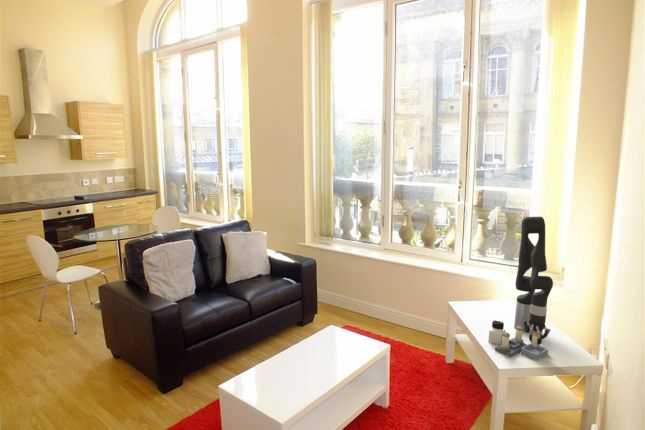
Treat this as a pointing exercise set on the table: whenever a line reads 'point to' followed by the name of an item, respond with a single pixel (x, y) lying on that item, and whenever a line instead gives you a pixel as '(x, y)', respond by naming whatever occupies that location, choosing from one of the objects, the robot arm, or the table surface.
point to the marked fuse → (534, 339)
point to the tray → (534, 352)
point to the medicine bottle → (496, 332)
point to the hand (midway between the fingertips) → (535, 342)
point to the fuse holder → (511, 343)
